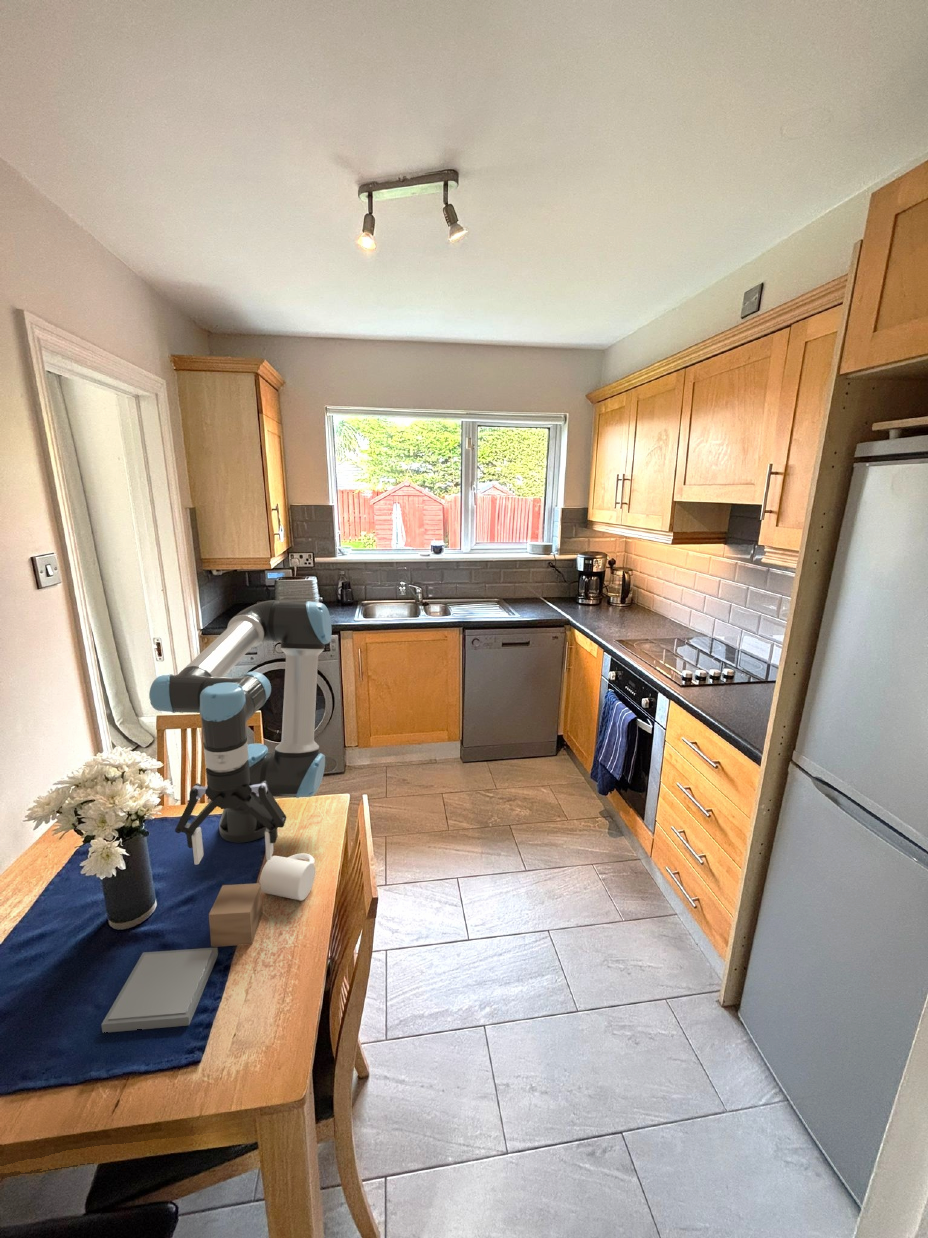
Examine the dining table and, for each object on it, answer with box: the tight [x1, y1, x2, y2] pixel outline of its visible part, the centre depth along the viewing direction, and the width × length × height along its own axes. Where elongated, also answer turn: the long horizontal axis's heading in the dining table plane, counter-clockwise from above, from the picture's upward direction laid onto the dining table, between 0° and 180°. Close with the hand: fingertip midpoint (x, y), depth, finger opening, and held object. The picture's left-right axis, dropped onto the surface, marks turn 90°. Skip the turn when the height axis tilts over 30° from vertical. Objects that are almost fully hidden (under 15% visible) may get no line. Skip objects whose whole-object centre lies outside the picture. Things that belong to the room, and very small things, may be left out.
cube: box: [208, 882, 263, 948], centre depth 105 cm, size 8×8×8 cm
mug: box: [259, 852, 316, 901], centre depth 118 cm, size 12×10×8 cm
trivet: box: [100, 947, 219, 1034], centre depth 92 cm, size 14×14×2 cm
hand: (234, 857), depth 99 cm, fingers open, 13 cm apart
